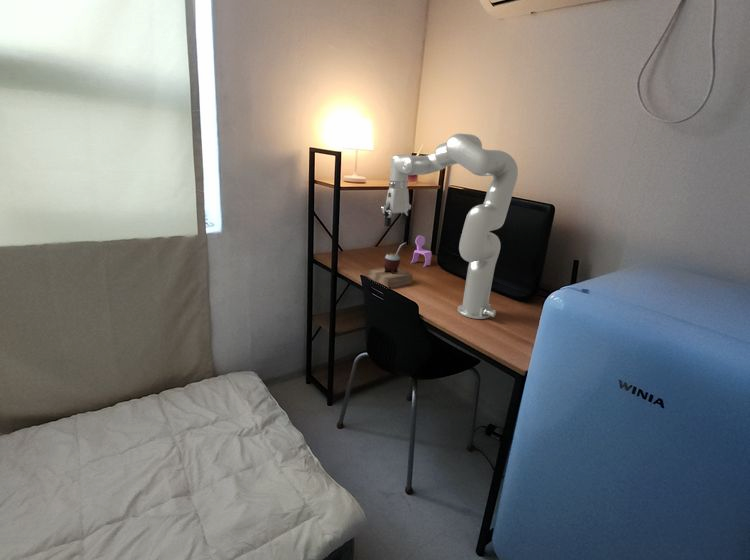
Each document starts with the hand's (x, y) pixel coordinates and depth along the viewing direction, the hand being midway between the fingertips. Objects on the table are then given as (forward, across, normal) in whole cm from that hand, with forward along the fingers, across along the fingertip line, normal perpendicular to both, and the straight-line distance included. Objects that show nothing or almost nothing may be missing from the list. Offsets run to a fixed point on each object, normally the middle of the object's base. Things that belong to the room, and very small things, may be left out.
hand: (395, 225), depth 178 cm
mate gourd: (+22, 0, 0) cm, 22 cm away
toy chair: (+26, +34, +12) cm, 44 cm away
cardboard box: (+26, 0, +1) cm, 27 cm away
